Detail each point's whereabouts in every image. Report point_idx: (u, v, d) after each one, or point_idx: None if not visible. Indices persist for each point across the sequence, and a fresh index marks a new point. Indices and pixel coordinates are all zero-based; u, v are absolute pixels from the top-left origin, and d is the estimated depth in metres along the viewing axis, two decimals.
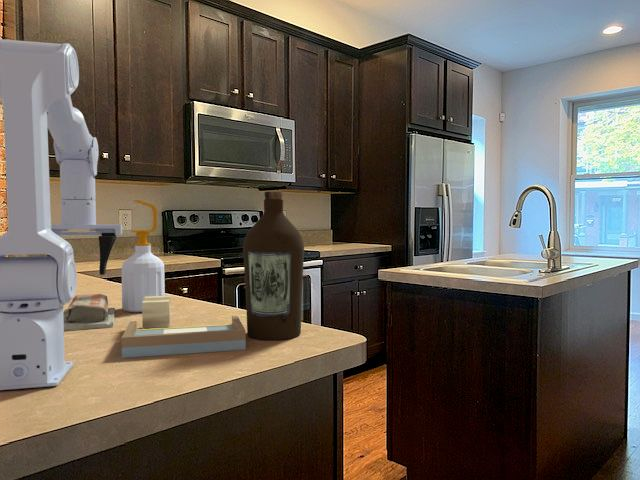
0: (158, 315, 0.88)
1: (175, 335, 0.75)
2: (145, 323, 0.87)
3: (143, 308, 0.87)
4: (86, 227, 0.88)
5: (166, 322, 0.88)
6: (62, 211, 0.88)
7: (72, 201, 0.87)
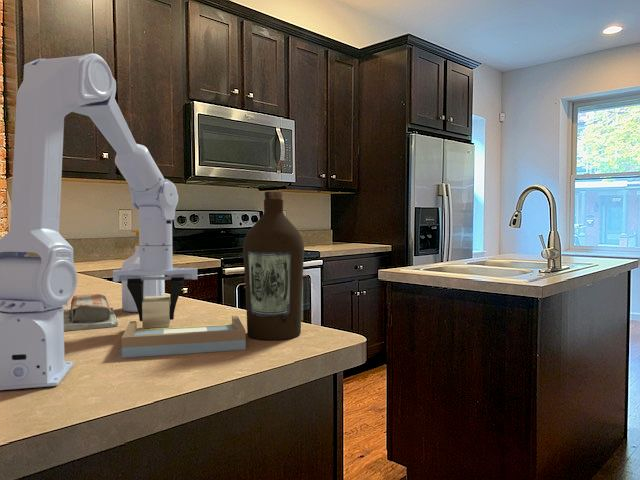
0: (158, 315, 0.88)
1: (175, 335, 0.75)
2: (145, 323, 0.87)
3: (143, 308, 0.87)
4: (165, 273, 0.89)
5: (166, 322, 0.88)
6: (141, 257, 0.88)
7: (152, 248, 0.88)
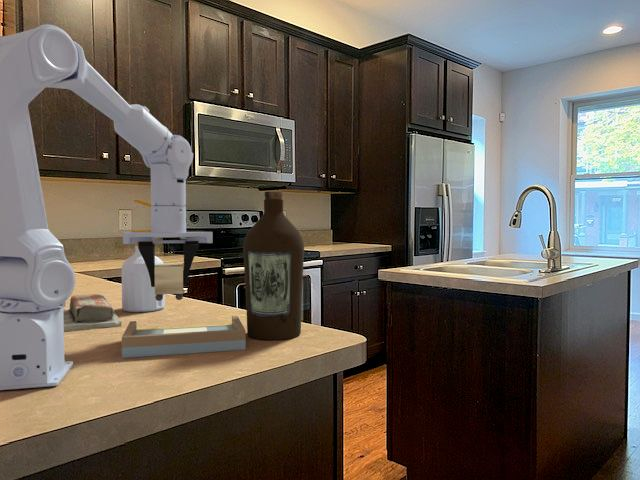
0: (171, 281, 0.82)
1: (175, 335, 0.75)
2: (157, 289, 0.82)
3: (155, 273, 0.82)
4: (179, 235, 0.83)
5: (180, 289, 0.83)
6: (154, 218, 0.83)
7: (165, 207, 0.82)
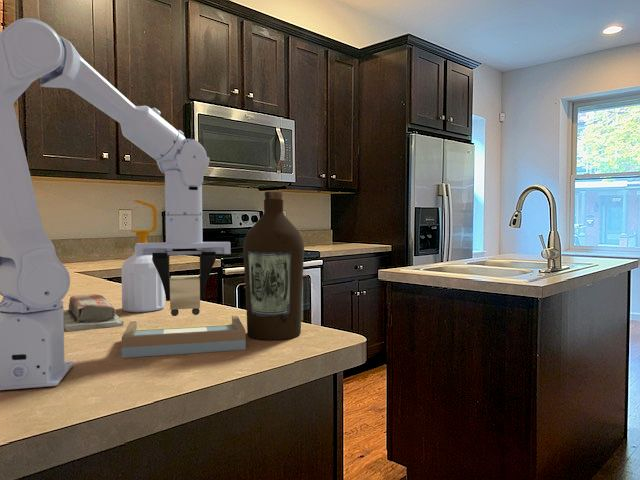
0: (187, 295, 0.78)
1: (175, 335, 0.75)
2: (173, 304, 0.77)
3: (171, 287, 0.77)
4: (195, 246, 0.78)
5: (196, 303, 0.78)
6: (168, 228, 0.78)
7: (181, 217, 0.77)
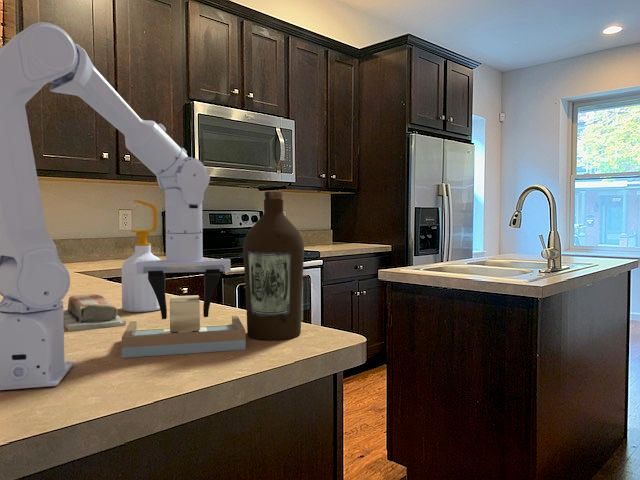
0: (187, 318, 0.78)
1: (175, 335, 0.75)
2: (173, 326, 0.77)
3: (171, 309, 0.77)
4: (195, 264, 0.78)
5: (196, 325, 0.78)
6: (169, 246, 0.78)
7: (181, 235, 0.77)
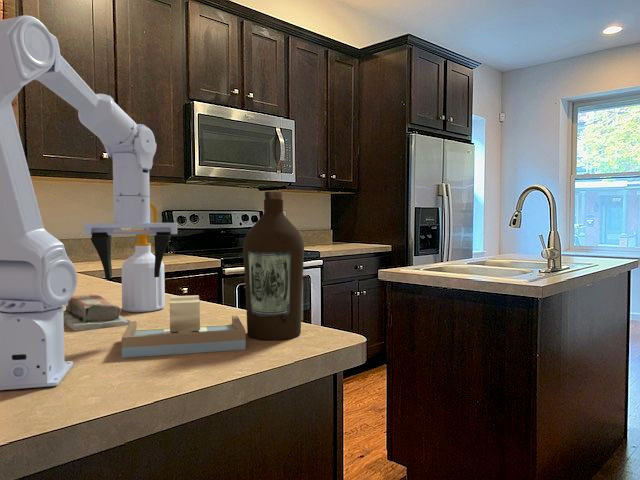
0: (187, 318, 0.78)
1: (175, 335, 0.75)
2: (173, 326, 0.77)
3: (171, 309, 0.77)
4: (141, 226, 0.82)
5: (196, 325, 0.78)
6: (115, 208, 0.81)
7: (126, 198, 0.81)
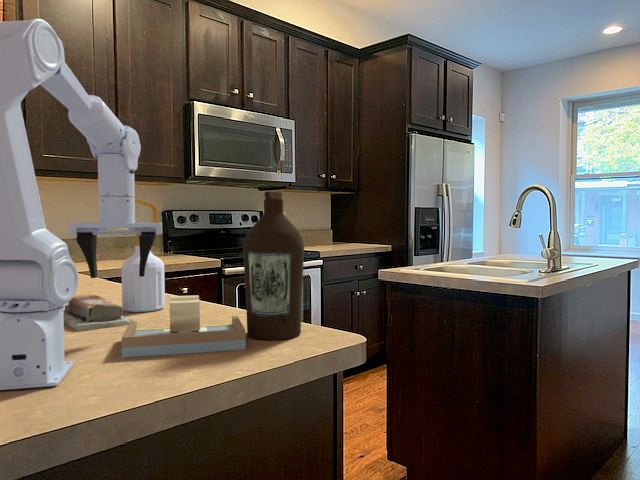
0: (187, 318, 0.78)
1: (175, 335, 0.75)
2: (173, 326, 0.77)
3: (171, 309, 0.77)
4: (126, 226, 0.83)
5: (196, 325, 0.78)
6: (100, 209, 0.83)
7: (111, 198, 0.82)
